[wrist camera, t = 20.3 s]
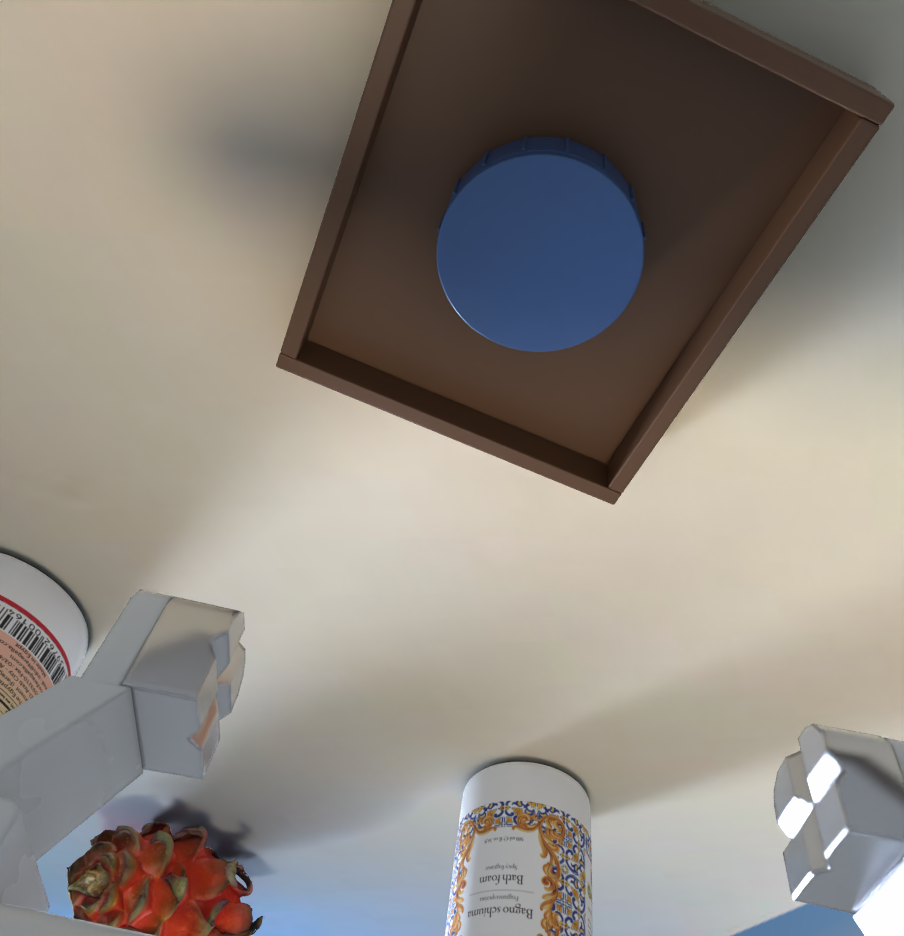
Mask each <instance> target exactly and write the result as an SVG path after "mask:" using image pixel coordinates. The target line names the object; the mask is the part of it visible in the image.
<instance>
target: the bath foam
mask: <svg viewBox="0 0 904 936" xmlns="http://www.w3.org/2000/svg"><path fill="white" fill-rule="evenodd" d="M445 936H592V861H591V813H590V803H589V799H588V796H587V794H586V792H585V791H584V789H583V788H582V787H581V785H580V784H579V783H578V782H577V781H576V780H574V779H573V778H572V777H570V776H569V775H567V774H566V773H564V772H562V771H560V770H558V769H555V768H553V767H550V766H546V765H542V764H538V763H532V762H507V763H501V764H496V765H493V766H490V767H488V768H485V769H483V770H482V771H480V772H478V773H477V774H476V775H474V776H473V777H472V778H471V779H470V781H469V782H468V783H467V785H466V787H465V790H464V793H463V798H462V805H461V813H460V821H459V828H458V835H457V843H456V851H455V859H454V867H453V875H452V883H451V891H450V899H449V907H448V916H447V924H446V932H445Z"/></svg>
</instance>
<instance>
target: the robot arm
mask: <svg viewBox="0 0 904 936" xmlns="http://www.w3.org/2000/svg"><path fill="white" fill-rule="evenodd" d="M244 630H245V622H244V613H243V612H241V611H237V610H232V609H228V608H223V607H219V606H214V605H210V604H206V603H201V602H197V601H192V600H188V599H183V598H179V597H173V596H169V595H164V594H159V593H155V592H150V591H145V590H141V589H140V590H139V591H138V592H137V593H136V594H134V595H133V596H132V597H131V598H130V600H129V601H128V603H127V604H126V606H125V608H124V609H123V611H122V612H121V614H120V616H119V617H118V619H117V620H116V622H115V624H114V625H113V627H112V628H111V630H110V632H109V633H108V635H107V636H106V638H105V640H104V641H103V643H102V644H101V646H100V648H99V649H98V651H97V652H96V654H95V656H94V657H93V659H92V661H91V662H90V664H89V665H88V667H87V669H86V670H85V672H84V673H83V675H82V677H76V676H69V677H67V678H66V679H64V680H62V681H60V682H59V683H57V684H55V685H54V686H52V687H50V688H48V689H47V690H45V691H43V692H41V693H40V694H38V695H36V696H34V697H33V698H31V699H29V700H27V701H26V702H24V703H22V704H20V705H19V706H17V707H15V708H14V709H12V710H10V711H8V712H7V713H5V714H3V715H1V716H0V936H156V935H151V934H146V933H141V932H136V931H132V930H127V929H122V928H117V927H112V926H108V925H103V924H98V923H93V922H89V921H84V920H79V919H74V918H70V917H65V916H60V915H55V914H50V913H47V911H48V909H49V907H50V905H49V902H48V899H47V896H46V893H45V889H44V886H43V883H42V880H41V877H40V874H39V870H38V867H37V864H36V860H38V859H39V858H40V857H41V856H43V855H44V854H45V853H46V852H47V851H49V850H50V849H51V848H52V847H54V846H55V845H56V844H57V843H58V842H60V841H61V840H62V839H63V838H64V837H66V836H67V835H68V834H69V833H71V832H72V831H73V830H74V829H75V828H77V827H78V826H79V825H80V824H81V823H83V822H84V821H85V820H86V819H88V818H89V817H90V816H91V815H92V814H94V813H95V812H96V811H97V810H98V809H100V808H101V807H102V806H103V805H105V804H106V803H107V802H108V801H109V800H111V799H112V798H113V797H114V796H116V795H117V794H118V793H119V792H120V791H122V790H123V789H124V788H125V787H126V786H128V785H129V784H130V783H131V782H133V781H134V780H135V779H136V778H137V777H139V776H140V775H141V774H142V773H143V769H145V770H151V771H157V772H162V773H168V774H174V775H179V776H185V777H191V778H197V779H202V780H203V778H204V775H205V773H206V771H207V768H208V766H209V764H210V761H211V759H212V756H213V754H214V752H215V749H216V747H217V745H218V742H219V740H220V727H219V720H221V719H222V718H224V717H225V716H227V715H228V714H230V713H231V712H232V709H233V707H234V704H235V702H236V699H237V697H238V693H239V690H240V686H241V683H242V679H243V675H244V667H245V648H244V647H243V646H242V645H241V644H240V642H239V641H240V639H241V636H242V634H243V632H244ZM798 741H799V746H800V750H801V751H799V752H797V753H794V754H792V755H790V756H787V757H786V758H785V759H784V761H783V763H782V765H781V766H780V768H779V770H778V772H777V777H776V782H775V787H774V807H775V813H776V819H777V823H778V824H779V826H780V827H781V828H782V829H783V831H784V832H785V833H786V834H787V836H788V837H789V838H790V839H791V841H790V843H789V844H788V846H787V847H786V849H785V851H784V852H783V856H784V861H785V866H786V871H787V876H788V881H789V886H790V891H791V896H792V900H795V901H800V902H804V903H808V904H813V905H817V906H822V907H826V908H830V909H834V910H839V911H843V912H847V913H852V914H855V915H854V916H853V918H854V920H855V921H856V923H857V924H858V925H859V927H860V929H861V930H862V932H863V933H864V935H865V936H904V741H899V740H894V739H889V738H882V737H881V736H877V735H872V734H866V733H861V732H855V731H850V730H845V729H839V728H834V727H828V726H823V725H818V724H811V725H809V726H807V727H806V728H805V729H804V730H803V732H802V733H801V735H800V736H799V738H798Z"/></svg>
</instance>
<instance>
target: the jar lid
mask: <svg viewBox="0 0 904 936" xmlns="http://www.w3.org/2000/svg"><path fill="white" fill-rule="evenodd" d="M437 232H439V235H438V240H437V254H436V256H437V268H438V273H439V277H440V281H441V284H442V287H443V289H444V292H445V294H446V296H447V298H448V300H449V302H450V303H451V305H452V306H453V308H454V309H455V311H456V312H457V313H458V314H459V316H460V317H461V318H462V319H463V320H464V321H465V322H466V323H467V324H468V325H469V326H470V327H472V328H473V329H474V330H475V331H477V332H478V333H480V334H481V335H483V336H484V337H486V338H488V339H490V340H492V341H494V342H496V343H498V344H501V345H503V346H506V347H509V348H513V349H518V350H523V351H532V352H546V351H554V350H561V349H565V348H569V347H572V346H575V345H578V344H580V343H583V342H585V341H587V340H589V339H591V338H593V337H595V336H596V335H598V334H599V333H600V332H602V331H603V330H605V329H606V328H607V327H608V326H610V325H611V324H612V323H613V322H614V321H615V320H616V319H617V318H618V317H619V316H620V315H621V313H622V312H623V311H624V310H625V308H626V307H627V305H628V304H629V302H630V301H631V299H632V297H633V295H634V293H635V291H636V289H637V286H638V284H639V281H640V278H641V274H642V269H643V264H644V240H646V235H645V230H644V224H643V222H641V221H640V215H639V211H638V206H637V203H636V200H635V197H634V191H633V186H632V184H630V185H628V183H627V181H626V180H625V178H624V177H623V176H622V174H621V173H620V171H619V170H618V169H617V168H616V167H615V166H614V165H613V164H612V163H611V162H610V161H609V160H608V159H607V155H606V154H604V155H603V156H602V155H601V154H600V153H598V152H596V151H595V150H593V149H591V148H589V147H588V146H585V145H583V144H580V143H578V142H575V141H571V140H570V137H566V139H563V138H556V137H531V138H528V136H524V139H520V140H517V141H513V142H510V143H507V144H505V145H503V146H501V147H498V148H496V149H494V150H493V151H491V152H489V150H488V151H486V152H485V155H484V156H483V157H482V158H481V159H480V160H479V161H478V162H476V163H475V164H474V165H473V166H472V167H471V168H470V169H469V170H468V171H467V173H466V174H465V175H464V176H463V178H462V179H461V180H460V179H458V180H457V182H456V185H455V188H454V190H453V193H452V197H451V199H450V202H449V204H448V207H447V210H446V213H445V214H443V216H442V219H441V222H440V224H439V227H438V231H437Z"/></svg>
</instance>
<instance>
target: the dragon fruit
mask: <svg viewBox="0 0 904 936" xmlns="http://www.w3.org/2000/svg"><path fill="white" fill-rule="evenodd" d="M207 835H208V834H207V831H206V829H205V828H204V827H202V826H199V827H196V828H184V829H183V830H181V831H180V832H179V833H177V834H175V835H172V834H171V831H170V826H169V824H167V823H163V822H157V821H155V822H153V823H148V824H146V825H145V826H143V828H142V832H141V833H138V832H137V831H135V830H134V829H133V828H132V827H129V826H118V827H117V829H116V831H113V830H105V831H103V832H102V833H101V834H99V835H97V836H95V837H94V839H92V840H90V842H91V845H92V847H91V848H90V850H88V851H87V852H86V853H85V855H83V856H82V857H80V858H79V859H77V860H76V861H75V862H74V863H73V864H72V865H71V866H70V867H69V868H67V869H68V884H69V885H68V896H69V899H70V901H71V903H72V908H73V918H74V919H79V920H84V921H89V922H93V923H98V924H103V925H108V926H112V927H117V928H122V929H127V930H132V931H136V932H141V933H146V934H151V935H156V936H250V935H252V934H254V933H255V932H256V931H257V930H258V929H259V928H260V926H261V923H262V918H263V916H261V917H259V918H257V919H256V921H255V922H252V920H253V917H252V908H250V905H248V904H245V903H241V901H240V897H242V896H248V895H250V894H251V893H252V890H253V886H252V882H251V880H250V879H249V876H248V877H247V876H246V875H245V874H246V873H243V872H244V868H243V867H242V866H241V865H238V861H237V860H236V859H235V860H234V861H231V862H230V861H226V860H220V859H219V858H218V856H217V853H216V852H215V851H214V850H212V849H210V848H207V847H204V844H205V842H206V840H207ZM236 874H237V875H238V876H239V877H240V878H241V879H242V880H243V881H244V882H245V883H246V885H247V889H246V888H245V887H244V886H243V885H242V884H240V883H239V882H238V881H237V880H236V878H235V875H236ZM255 929H256V930H255ZM253 932H254V933H253Z"/></svg>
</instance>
